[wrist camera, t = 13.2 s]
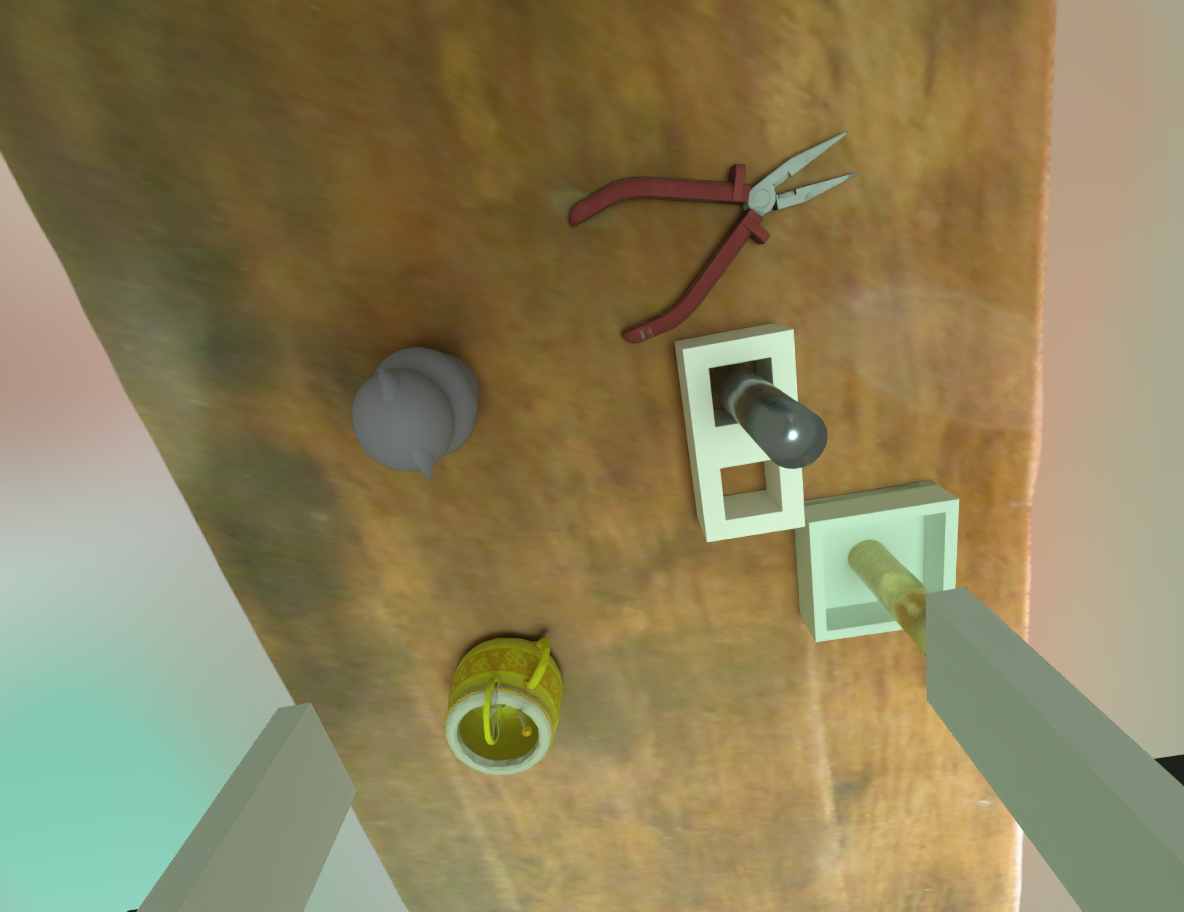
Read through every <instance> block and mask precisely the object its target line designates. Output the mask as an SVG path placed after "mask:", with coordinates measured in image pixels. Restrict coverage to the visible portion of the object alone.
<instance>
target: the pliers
mask: <svg viewBox="0 0 1184 912" xmlns="http://www.w3.org/2000/svg"><path fill="white" fill-rule="evenodd" d="M847 133H848V131H846V132H844V133H842V134H840V135H838V136H836V137H834V138H831V139H829V140H827V141H825V142H823V143H821V144H819V145H817V146H814V147H812V148H810V149H808V150H806V151H804V152H802V153H800V154H797V155H795V156H793V157H791V158H790V159H789V160H787V161H786V162H784V163H783V164H782V165H780V166H779V167H778V168H776V169H775V170H774V171H772V172H771V173H770V174H768V175H767V176H766V177H764V178H763V179H762V180H761V181H760V182H759V183H758V184H756V185H755V186H754V187H751V185H750V184H744V178H745V169H746V168H745V165H744V164H735V165H733V166H732V167H731V168H730V175H729V182H722V181H707V180H691V179H676V178H661V177H632V178H625V179H620V180H617V181H614V182H611V183H610V184H608V185H606V186H605V187H603V188H601V189H600V190H598V191H596V192H595V193H593V194H591V195H590V196H588V197H586V198H585V199H583V200H581V201H580V202H578V203H577V204H575V205H574V207H573V208H572V209H571V212H570V223H571V225H572V226H573V227H574V226H576V225H578V224H580V223H581V222H583V221H585V220H587V219H589V218H590V217H592V216H594V215H596V214H597V213H599V212H601V211H603V210H604V209H606V208H608V207H610V206H611V205H614V204H616V203H619V202H622V201H625V200H631V199H645V198H646V199H661V200H676V201H691V202H706V203H721V204H738V205H742V204H743V209H744V210H745V211H744V212H743V213H742V215H741V216H740V217H739V219H738V220H737V221H736V223H735V224H734V225H733V227H732V228H731V230H730V231H729V232H728V234H727V235H726V237H725V238H724V239H723V241H722V242H721V243H720V245H719V246H718V248H717V249H716V250H715V252H714V253H713V255H712V256H711V257H710V259H709V260H708V261H707V263H706V264H705V266H704V267H703V268H702V270H701V271H700V273H699V274H698V275H697V277H696V278H695V279H694V281H693V282H692V284H691V285H690V286H689V288H688V289H687V291H686V292H685V293H684V294H683V296H682V297H681V298H680V299H679V300H678V301H677V302H676V303H675V304H674V305H673V306H672V307H671V308H669V309H668V310H666V311H665V312H663V313H662V314H660V315H658V316H656V317H654V318H651V319H649V320H647V321H645V322H642V323H640V324H638V325H636V326H634V327H631V328H629V329H627V330H625V331H623V332H622V335H623V337H624V338H625V340H627V341H628V342H630V343H640V342H642V341H645V340H647V339H649V338H652V337H654V336H657V335H659V334H661V333H664V332H666V331H668V330H671V329H673V328H675V327H676V326H678V325H679V324H681V323H682V322H683V321H684V320H686V319H687V318H688V317H689V316H690V315H691V314H692V313H693V312H694V311H695V309H696V308H697V307H698V306H699V305H700V304H701V302H702V301H703V300H704V298H705V297H706V295H707V294H708V293H709V291H710V290H711V289H712V287H713V286H714V285H715V283H716V282H717V281H718V279H719V278H720V277H721V275H722V274H723V272H724V271H725V270H726V268H727V267H728V266H729V264H730V263H731V262H732V260H733V259H734V258H735V256H736V255H737V253H738V252H739V251H740V249H741V248H742V247H743V245H744V244H745V243H746V241H747V240H748V239H749V237H750V238H751V239H753V240H754V241H755V242H756V243H758V244H764V243H765V242H766V241H767V239H768V238H769V237H770V234H769V233H768V232H767V231H766V230H765V229H763V228H762V227H761V226H760V225H759V223H760V222H761V221H762V219H763V218H762V217H761V216H763V215H764V214H765V213H768V212H771V211H775V210H778V209H782V208H785V207H789V206H792V205H796V204H799V203H803V202H806V201H809V200H810V199H812V198H814V197H816V196H818V195H820V194H822V193H824V192H825V191H827V190H829V189H831V188H833V187H835V186H837V185H838V184H840V183H842V182H844V181H846V180H848V179H850V178H851V177H853V176H855V175H857V174H858V173H859V172H856V173H853V174H849V175H846V176H842V177H839V178H835V179H831V180H828V181H824V182H821V183H817V184H813V185H810V186H806V187H803V188H799V189H795V190H793V191H790V192H786V193H782V194H777V195H776V194H775V191H774V189H775V188H776V187H777V186H778V185H780V184H781V183H782V182H784V181H785V180H786V179H787V178H789V177H791V176H792V175H794V174H795V173H796V172H798V171H799V170H800V169H802V168H803V167H804V166H806V165H807V164H808V163H809V162H811V161H812V160H813V159H815V158H816V157H817V156H819V155H820V154H821V153H822V152H824V151H825V150H826V149H828V148H829V147H830V146H832V145H833V144H834V143H835V142H837V141H838V140H839V139H841V138H842V137H843V136H845V135H846V134H847ZM750 187H751V188H750Z"/></svg>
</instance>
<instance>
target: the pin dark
mask: <svg viewBox="0 0 1184 912" xmlns="http://www.w3.org/2000/svg"><path fill="white" fill-rule="evenodd" d="M709 376H710V385H711V393H712V394H713V395H714V397H715V398H716V399H717V400H718V401H719V402H720V403H721V404H722V405H723V407H724V408H725V409H726V410H727V411H728V412H729V413H730V414H731V416H732V417H733V418H734V419H735V420H736V421H737V422H738V423H739V424H740V426H741V427H742V428H743V429H744V430H745V431H746V432H747V433H748V435H749V436H750V437H751V438H752V439H753V440H754V441H755V442H756V443H757V445H758V446H759V447H760V448H761V449H762V450H763V451H764V452H765V454H766V455H767V456H768V457H769V458H770V459H771V460H772V461H773V462H774V463H775V464H777V465H778V466H780V467H783V468H788V469H798V468H802V467H805V466H807V465H809V464H811V463H812V462H814V461H815V460H816V459H817V458H818V457H819V456H820V455H821V454H822V452H823V450H824V448H825V446H826V443H827V429H826V426H825V424H824V422H823V421H822V419H821V418H820V417H819V416H818V415H816V414H815V413H813V412H812V411H810V410H809V409H807V408H806V407H804V406H803V405H802V404H800V403H799V402H797V401H796V400H794V399H793V398H791V397H790V396H788V395H787V394H785V393H784V392H783V391H781V390H780V389H778V388H777V387H775V386H774V385H772V384H771V383H769V382H768V381H766V380H765V379H764V378H762V377H761V376H759V375H758V374H756V373H755V372H753V371H752V370H750V369H749V368H747V367H746V366H745V365H743V364H742V363H735V364H730V365H724V366H719V367H714V368H713V369H712V371H711V372H710V375H709Z"/></svg>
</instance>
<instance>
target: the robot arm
mask: <svg viewBox="0 0 1184 912" xmlns="http://www.w3.org/2000/svg"><path fill="white" fill-rule="evenodd" d="M926 669H927V700H928V702H929V703H930V704H931V706H932V707H933V708H934V710H935V711H936V713H937V714H938V715H939V717H940V718H941V719H942V721H943V722H944V723H945V725H946V726H947V728H948V729H949V730H950V732H951V733H952V734H953V736H954V737H955V738H956V740H957V741H958V743H959V744H960V745H961V747H962V748H963V749H964V751H965V752H966V753H967V755H968V756H969V757H970V759H971V760H972V762H973V763H974V764H975V766H976V767H977V768H978V770H979V771H980V772H981V774H982V775H983V777H984V778H985V779H986V781H987V782H988V783H989V785H990V786H991V787H992V789H993V790H994V791H995V793H996V794H997V796H998V797H999V798H1000V800H1001V801H1002V802H1003V804H1004V805H1005V806H1006V808H1007V809H1008V811H1009V812H1010V813H1011V815H1012V816H1013V817H1014V819H1015V820H1016V821H1017V823H1018V824H1019V825H1020V827H1021V828H1022V830H1023V831H1024V832H1025V834H1026V835H1027V836H1028V838H1029V839H1030V840H1031V842H1032V843H1033V844H1034V846H1035V847H1036V849H1037V850H1038V851H1039V853H1040V854H1041V855H1042V857H1043V858H1044V859H1045V861H1046V862H1047V864H1048V865H1049V866H1050V868H1051V869H1052V870H1053V872H1054V873H1055V874H1056V876H1057V877H1058V879H1059V880H1060V881H1061V883H1062V884H1063V885H1064V887H1065V888H1066V889H1067V891H1068V892H1069V894H1070V895H1071V896H1072V898H1073V899H1074V900H1075V902H1076V903H1077V904H1078V906H1079V907H1080V908H1081V910H1082V911H1083V912H1184V755H1177V756H1171V757H1164V758H1157V759H1153V758H1152V757H1151V756H1150V755H1149V754H1148V753H1147V752H1146V751H1144V750H1143V749H1142V748H1141V747H1140V746H1139V745H1138V744H1137V743H1136V742H1135V741H1134V740H1132V739H1131V738H1130V737H1129V736H1128V735H1127V734H1126V733H1125V732H1124V731H1122V730H1121V729H1120V728H1119V727H1118V726H1117V725H1116V724H1115V723H1114V722H1113V721H1112V720H1111V719H1109V718H1108V717H1107V716H1106V715H1105V714H1104V713H1103V712H1102V711H1101V710H1100V709H1098V708H1097V707H1096V706H1095V705H1094V704H1093V703H1092V702H1091V701H1090V700H1089V699H1088V698H1086V697H1085V696H1084V695H1083V694H1082V693H1081V692H1080V691H1079V690H1078V689H1077V688H1075V687H1074V686H1073V685H1072V684H1071V683H1070V682H1069V681H1068V680H1067V679H1066V678H1065V677H1063V676H1062V675H1061V674H1060V673H1059V672H1058V671H1057V670H1056V669H1055V668H1053V667H1052V666H1051V665H1050V664H1049V663H1048V662H1047V661H1046V660H1045V659H1044V658H1042V656H1040V655H1039V654H1038V653H1037V652H1036V651H1035V650H1034V649H1033V648H1032V647H1030V646H1029V645H1028V644H1027V643H1026V642H1025V641H1024V640H1023V639H1022V638H1021V637H1020V636H1019V635H1017V634H1016V633H1015V632H1014V631H1013V630H1012V629H1011V628H1010V627H1009V626H1008V625H1006V624H1005V623H1004V622H1003V621H1002V620H1001V619H1000V618H999V617H998V616H997V615H996V614H994V613H993V612H992V611H991V610H990V609H989V608H988V607H987V606H986V605H985V604H983V603H982V602H981V601H980V600H979V599H978V598H977V597H976V596H975V595H974V594H973V593H971V592H970V591H969V590H968V589H967V588H966V587H962V588H957V589H951V590H945V591H940V592H934V593H928V594H926ZM356 792H357V790H356V788H355V787H354V785H353V783H352V781H351V779H350V777H349V775H348V773H347V771H346V769H345V767H344V766H343V764H342V762H341V760H340V758H339V756H338V754H337V752H336V750H335V748H334V746H333V745H332V743H331V741H330V739H329V737H328V735H327V733H326V731H325V729H324V727H323V725H322V723H321V722H320V720H319V718H318V716H317V714H316V712H315V710H314V708H313V706H312V704H311V703H305V704H300V705H295V706H288V707H283V708H278V709H277V711H276V712H275V714H274V715H273V717H272V718H271V719H270V721H269V722H268V724H267V725H266V727H265V728H264V730H263V731H262V732H261V734H260V735H259V737H258V738H257V740H256V741H255V742H254V744H253V745H252V747H251V748H250V750H249V751H248V752H247V754H246V755H245V757H244V758H243V760H242V761H241V762H240V764H239V765H238V767H237V768H236V770H235V771H234V772H233V774H232V775H231V777H230V778H229V780H228V781H227V783H226V784H225V785H224V787H223V788H222V790H221V791H220V793H219V794H218V796H217V797H216V798H215V800H214V801H213V803H212V804H211V805H210V807H209V808H208V810H207V811H206V813H205V814H204V815H203V817H202V818H201V820H200V821H199V823H198V824H197V826H196V827H195V828H194V830H193V831H192V833H191V834H190V836H189V837H188V838H187V840H186V842H185V843H184V844H183V846H182V847H181V848H180V850H179V851H178V853H177V854H176V856H175V857H174V859H173V860H172V861H171V863H170V864H169V866H168V867H167V869H166V870H165V871H164V873H163V875H162V876H161V877H160V879H159V880H158V881H157V883H156V885H155V886H154V887H153V889H152V890H151V892H150V893H149V894H148V896H147V897H146V899H145V900H144V902H143V903H142V904H141V906H140V907H139V909H136V910H129V911H127V912H303V911H304V908H305V906H306V904H307V902H308V900H309V897H310V895H311V892H312V891H313V888H314V886H315V884H316V882H317V879H318V877H319V875H320V873H321V870H322V868H323V866H324V864H325V861H326V859H327V857H328V854H329V852H330V850H331V848H332V846H333V843H334V841H335V839H336V836H337V834H338V832H339V830H340V828H341V825H342V823H343V821H344V819H345V816H346V814H347V812H348V810H349V807H350V805H351V803H352V801H353V798H354V796H355V794H356Z"/></svg>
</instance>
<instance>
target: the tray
mask: <svg viewBox="0 0 1184 912" xmlns="http://www.w3.org/2000/svg"><path fill="white" fill-rule="evenodd" d="M958 512H959V499H958V498H957V497H955V496H954V495H952V494H950V493H949V492H947V491H946V490H944V489H943V488H941V487H940V486H938V485H937V484H935V483H933V482H932V481H924V482H918V483H912V484H906V485H899V486H893V487H887V488H881V489H875V490H868V491H862V492H856V493H850V494H844V495H837V496H831V497H825V498H819V499H813V500H807V501H804V515H805V527H800V528H794V533H795V548H796V563H797V578H798V593H799V607H800V616H801V617H802V619H803V621H804V623H805V624H806V626H807V628H808V629H809V631H810V633H811V635H812V636H813V638H814V640H815V641H816V642H820V641H826V640H833V639H840V638H847V637H854V636H861V635H868V634H875V633H882V632H889V631H896V630H903V629H902V628H901V626H900V625H899V624H898V623H897V622H896V620H895V619H894V618H893V617H892V616H891V614H890V613H889V612H888V611H887V610H886V609H885V607H884V606H883V605H882V604H881V603H880V601H879V600H878V599H877V598H876V597H875V595H874V594H873V593H872V592H871V591H870V590H869V588H868V587H867V586H866V585H865V584H864V582H863V581H862V580H861V579H860V578H859V576H858V575H857V574H856V573H855V572H854V571H853V569H852V568H851V567H850V565H849V563H848V555H849V552H850V550H851V549H852V548H853V547H854V546H855V545H856V544H857V543H859V542H861V541H864V540H876V541H878V542H880V543H881V544H882V545H883V546H885V547H886V548H887V549H888V550H889V551H890V552H891V553H892V554H893V555H894V556H895V557H896V558H897V559H898V560H899V561H900V562H901V563H902V564H903V565H904V566H905V567H906V568H907V569H908V570H909V571H910V572H911V573H912V574H913V575H914V576H915V577H916V578H917V579H918V580H919V581H920V582H921V583H922V584H923V585H924V586H925V587H926V588H927V589H928V590H930V591H931V592H932V593H934V592H940V591H945V590H951V589H955V580H956V557H957V535H958Z"/></svg>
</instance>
